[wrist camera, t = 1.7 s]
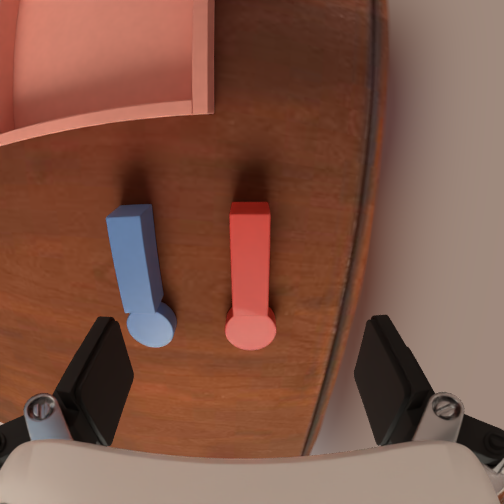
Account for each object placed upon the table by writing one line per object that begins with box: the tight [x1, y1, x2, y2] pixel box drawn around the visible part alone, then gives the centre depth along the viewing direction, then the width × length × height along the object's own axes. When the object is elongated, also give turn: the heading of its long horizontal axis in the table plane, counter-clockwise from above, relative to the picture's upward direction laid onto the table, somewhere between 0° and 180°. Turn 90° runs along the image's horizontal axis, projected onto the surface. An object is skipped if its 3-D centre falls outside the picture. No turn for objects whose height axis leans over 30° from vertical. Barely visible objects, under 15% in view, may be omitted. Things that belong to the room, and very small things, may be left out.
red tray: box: [0, 0, 215, 146], centre depth 11 cm, size 13×13×3 cm
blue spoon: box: [106, 204, 177, 347], centre depth 18 cm, size 3×10×2 cm, turn 0°
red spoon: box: [225, 202, 276, 350], centre depth 18 cm, size 3×10×2 cm, turn 0°
